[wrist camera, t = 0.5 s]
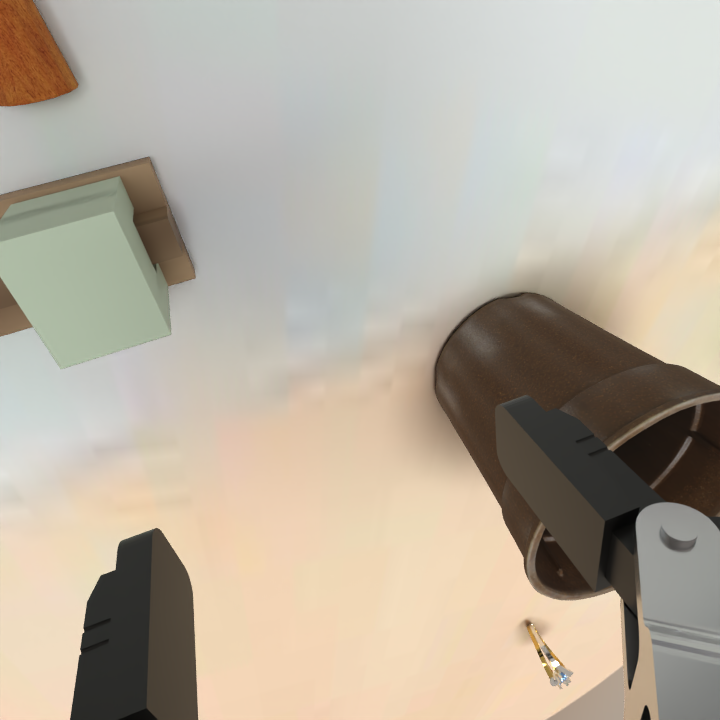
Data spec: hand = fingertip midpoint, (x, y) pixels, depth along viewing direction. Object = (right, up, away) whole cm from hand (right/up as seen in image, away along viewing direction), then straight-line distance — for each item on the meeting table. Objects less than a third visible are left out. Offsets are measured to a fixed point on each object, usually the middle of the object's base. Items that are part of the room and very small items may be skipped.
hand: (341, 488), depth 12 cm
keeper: (-13, +9, +15) cm, 21 cm away
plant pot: (+12, +3, +31) cm, 33 cm away
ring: (+24, -33, +60) cm, 72 cm away
